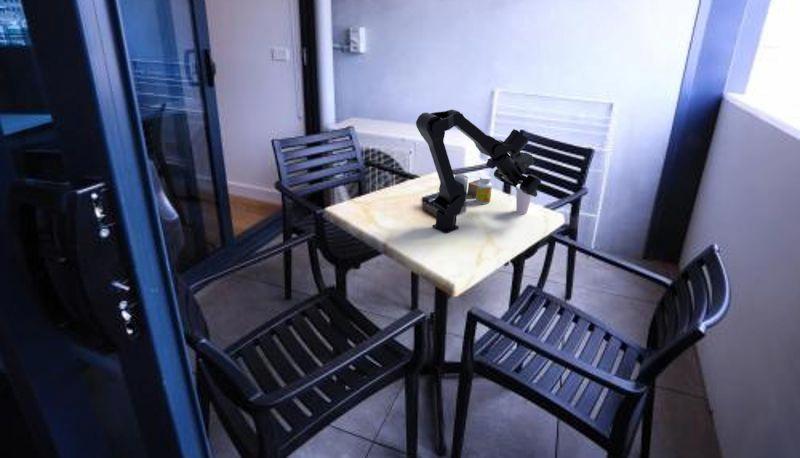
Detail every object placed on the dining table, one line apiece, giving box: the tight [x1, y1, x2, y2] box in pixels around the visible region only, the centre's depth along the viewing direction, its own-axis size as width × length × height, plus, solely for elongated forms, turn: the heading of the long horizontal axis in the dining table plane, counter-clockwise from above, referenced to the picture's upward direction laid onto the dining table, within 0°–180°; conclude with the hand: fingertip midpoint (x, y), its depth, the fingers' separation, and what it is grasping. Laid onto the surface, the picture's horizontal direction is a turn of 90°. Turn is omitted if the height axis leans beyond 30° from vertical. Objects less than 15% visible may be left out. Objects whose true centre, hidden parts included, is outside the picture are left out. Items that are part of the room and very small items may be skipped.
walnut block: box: [467, 179, 480, 199], centre depth 183 cm, size 6×5×5 cm
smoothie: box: [515, 183, 533, 215], centre depth 166 cm, size 6×6×14 cm
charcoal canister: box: [454, 174, 469, 197], centre depth 180 cm, size 5×5×8 cm
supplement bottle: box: [475, 175, 493, 205], centre depth 176 cm, size 5×5×10 cm
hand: (527, 191), depth 167 cm, fingers open, 9 cm apart
